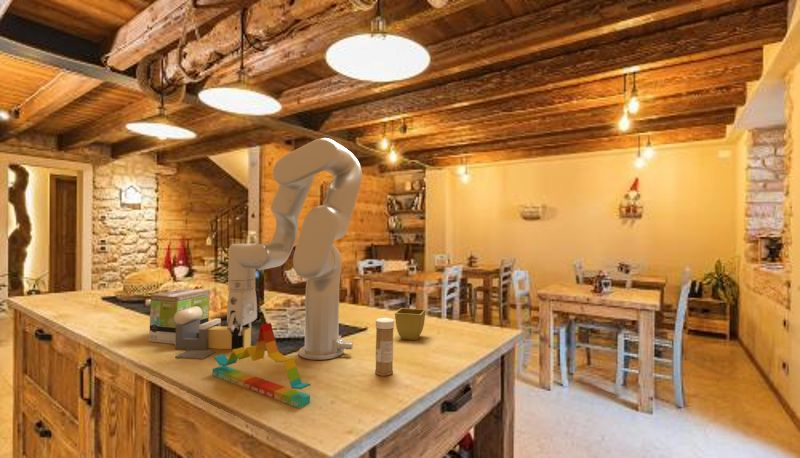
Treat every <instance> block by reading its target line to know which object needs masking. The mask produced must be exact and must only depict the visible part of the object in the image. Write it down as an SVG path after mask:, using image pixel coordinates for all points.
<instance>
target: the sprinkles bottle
mask: <svg viewBox="0 0 800 458" xmlns="http://www.w3.org/2000/svg"><path fill="white" fill-rule="evenodd" d="M375 328H376V334H375V335H376V336H375V337H376V338H375V339H376V340H375V370H374V372H375V374H376V375H377V376H381V377H385V376H391V375H392V374H393V373H394V369H393V367H394V366H393V362H394V328H395V320H394V319H393V318H390V317H379V318H377V319H375Z"/></svg>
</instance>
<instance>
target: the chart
mask: <svg viewBox="0 0 800 458" xmlns="http://www.w3.org/2000/svg"><path fill="white" fill-rule="evenodd" d="M273 329H274V328H273V325H272V323H271V322H269V323H265V324H261V325H260V328H259V332H258V337H257V342H256V345H252V346H250V347H248V348H246V349H244V348H243V347H241V348H238V349H231V353H230V355H229V356H228V357H227V356H226V354H225V353H222V354H218V355H215V356H213V359H214V360H215V362H216V363H217V364H218V367H214V368H212V370H211V371H212V372H211V373H212V374H211V375H212V376H213V377H216V378H219V379H221V380H224V381H226V382H230V383H231V384H233V385H237V386H240V387H241V388H244V389H247V390H250V391H253V392H255V393H258V394H260V395H264V396H266V397H269V398H271V399H273V400H277V401H278V402H282V403H285V404H287V405H289V406H292V407H295V408H297V409H301V408H302V407H305V406H307V405H309V404H310V403H311V395H310V394H308V393H305V392H302V391H299V390H303V389H306V388H308V387H310V386H311V383H308V382H302V379H301V377H300V373H299V369H298V367H297V364H296V361H295V357H293V356H292V357H291V356H288V357H287V356H285V355H283V353H281V352H280V351H279V350H278V346H277V342H276V341H277V340H276V338H275V333H274V330H273ZM265 352H266V353H267V356H268V357H269V358H270V359H271V360H272V361H274V362H275V363H283V364H284V368H285V370H286V375H287V377H288V381H289V384H290V386H291V388H290V387H287V386H284V385H282V384H278V383H276V382H272V381H270V380H267V379H265V378H261V377H258V376H255V375H252V374H250V373H247V372H244V371H241V370H238V369H235V368H232V367H230V365H234V364H236V363H237V362H238V360H243V359H246V358H249V357H250V358H251V360H252V361H253V362H255V361H259V360H262V359H264V357H265Z"/></svg>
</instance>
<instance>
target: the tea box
mask: <svg viewBox="0 0 800 458" xmlns="http://www.w3.org/2000/svg"><path fill="white" fill-rule="evenodd" d="M210 295H211V294H210V289H197V288H182V289H178V290H177V289H176V290H172V291H165V292H159V293H154V294H153V293H152V294H151V295H150V310H149V311H150V313H149V330H148V331H149V334H148V340H149V342H152V343H161V344H173V345H176V325H178V324H177V323H176V322H175V320H174V315H175V314H176V313H177V312H178V311H182V310H185V309H188V308H191V307H194V306H198V307H200V308H201V310H202V316H201V317H200V318H199V319H200V325H201V324H203V323H206V322H208V321H210V319H209V318H210V317H209V316H210V313H209V312H210Z"/></svg>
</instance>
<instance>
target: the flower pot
mask: <svg viewBox="0 0 800 458" xmlns="http://www.w3.org/2000/svg"><path fill="white" fill-rule="evenodd" d="M394 317H395V318H394V319H395V326H396V331H397V333H398V335H399V337H400V338H401V340H413V341H417V340H418V339H419V338H420V336H421V334H422V332H423V330H424V326H425V319H426V318H425V317H426V309H423V308H407V307H401V308H399V309H397V310H396V312H394Z"/></svg>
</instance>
